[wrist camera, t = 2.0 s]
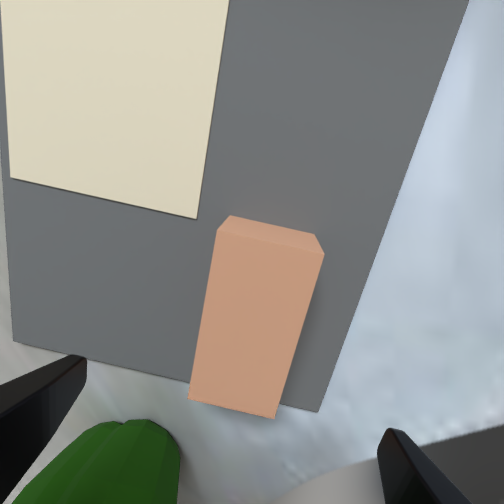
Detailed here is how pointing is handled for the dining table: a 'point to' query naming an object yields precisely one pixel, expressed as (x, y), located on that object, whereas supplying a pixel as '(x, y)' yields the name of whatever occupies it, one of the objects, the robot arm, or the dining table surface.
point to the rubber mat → (202, 159)
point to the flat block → (253, 314)
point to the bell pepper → (110, 468)
